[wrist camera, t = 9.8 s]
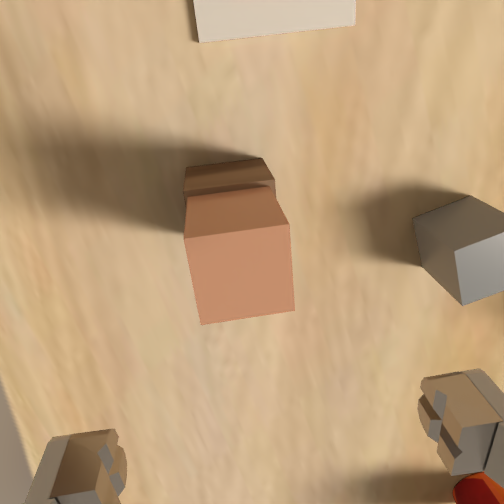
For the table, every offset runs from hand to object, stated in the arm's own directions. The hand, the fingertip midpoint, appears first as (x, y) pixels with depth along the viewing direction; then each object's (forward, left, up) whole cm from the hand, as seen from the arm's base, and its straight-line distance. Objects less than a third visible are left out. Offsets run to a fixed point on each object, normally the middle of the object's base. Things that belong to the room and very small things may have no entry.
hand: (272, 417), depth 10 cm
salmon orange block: (0, 0, -14) cm, 13 cm away
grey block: (+5, +16, -19) cm, 25 cm away
